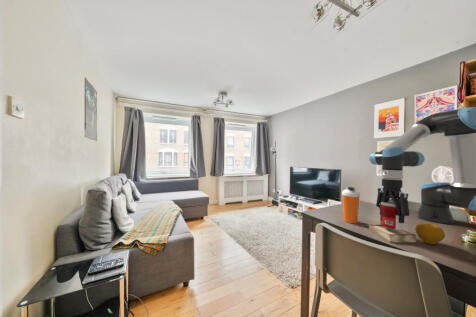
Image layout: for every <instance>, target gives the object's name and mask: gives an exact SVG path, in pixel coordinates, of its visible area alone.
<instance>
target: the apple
mask: <svg viewBox="0 0 476 317" xmlns="http://www.w3.org/2000/svg"><path fill="white" fill-rule="evenodd" d="M415 233H416V236H418V238H419V239H420V240H421V241H422V242H423V243H425V244H428V245H436V244H438V243H440V242H442V241H443V240H444V239H445V237H446V233H445V232H444V229H442V227H440V226H439V225H437V224H433V223H429V222H420V223H418V224H417V225H416V226H415Z"/></svg>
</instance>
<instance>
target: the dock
mask: <svg viewBox="0 0 476 317" xmlns="http://www.w3.org/2000/svg"><path fill="white" fill-rule="evenodd" d="M368 225H369V227H368V231H369V232H370V233H372V234H374V235H376V236H378V237H379V238H381V239H383V240H385V241H387V242H388V243H417V234H415V233H411V232H409V231H407V230H404V229H403V230H397V229H392V228H387V227H384V226H382V225H381V224H368Z"/></svg>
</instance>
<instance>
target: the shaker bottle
mask: <svg viewBox="0 0 476 317" xmlns="http://www.w3.org/2000/svg"><path fill="white" fill-rule="evenodd" d="M341 195H342V214H343V222H345V223H347V224H354V225H355V224H356V225H357V224H358V223H359V209H360V208H359V206H360V197H361V193H360V192H359V191H358V190H356V187H352V186H346V188H345V189H343V190H342V192H341Z"/></svg>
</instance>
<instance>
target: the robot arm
mask: <svg viewBox="0 0 476 317" xmlns="http://www.w3.org/2000/svg"><path fill="white" fill-rule="evenodd" d="M434 134H435V135H436V134H443V136H444V137H445V138H447V139H448V140H449V141H448V142H449V152H450V158H451V159H450V160H451V166H452V176H453V181H452V182H446V181H445V182H442V181H441V182H439V181H436V182H435V181H433V182H432V181H430V182H429V181H426V182H425V181H424V182H422V183H421V188H420V195H421V197H420V206H419V208H418V210H417V212H416V216H417V218H419V219H422V220H424V221H428V222H433V223H439V224H445V225H447V224H448V225H449V224H451V225H452V224H455V219H454V217H453V214H452V211H451V209H450V206H451V207H456V208H459V209H460V208H462V209H465V210H466V209H467V210H469V211H476V107H475V106H469V107H461V108H458V109H452V110H447V111H442V112H436V113H432V114H430V115H428V116H425V117H423V118H421V119H419V120H418V121H417V122H415V123H413V124H412V125H411V126H410V127H409V130H407V131H406V132H404V133H403V134H402V135H400V136H399V137H398V138H396V139H395V140H393V141H392V142H391V143H389V144H388V145H386V147H383V148H382V149H381V150H380V151H373V152H371V153H370V155H369V156H368V160H369V162H370V164H372V165H376V166H381V170H382V171H381V177H382V179H381V186H383V187H378V188H377V197H376V204H375V206H376V207H377V208H378V209H379V210H380V207H381V202H390V200H391V201H393V203H394V205H395V206H396V211H397V215H396V229H397V230H404V224H405V217H409V216H410V208H409V201H408V197H409V194H408V193H404V192H402V190H401V189H402V188H403V182H404V181H403V180H402V179H403V178H404V176H403V172H404V171H403V169H404V168H403V167H409V168H411V167H412V168H413V167H419V166H422V165H423V164H424V163H425V160H426V159H425V156H424V154H423V153H422V152H419V151H415V150H411V151H410V150H409V151H407V150H408V149H410V148H411V147H412V146H414V145H415V144H416V143H417V142H419V141H420V140H422V139H425V138H427V137H429V136H430V135H434Z"/></svg>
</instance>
